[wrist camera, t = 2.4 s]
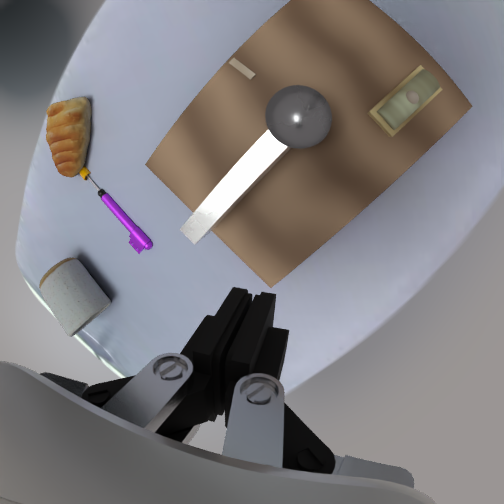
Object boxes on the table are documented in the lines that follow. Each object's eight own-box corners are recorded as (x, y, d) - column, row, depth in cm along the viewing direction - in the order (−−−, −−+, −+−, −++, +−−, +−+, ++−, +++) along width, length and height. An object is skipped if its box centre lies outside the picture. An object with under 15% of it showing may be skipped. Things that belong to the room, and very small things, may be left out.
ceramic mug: (81, 245, 33) (39, 270, 26) (119, 294, 34) (81, 326, 27) (60, 283, 38) (26, 307, 31) (92, 323, 39) (61, 352, 32)
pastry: (97, 172, 28) (73, 179, 25) (62, 177, 30) (40, 183, 27) (93, 93, 25) (69, 92, 21) (59, 106, 27) (36, 107, 23)
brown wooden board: (327, -18, 16) (326, -45, 11) (462, 107, 17) (488, 104, 13) (156, 162, 26) (126, 168, 22) (274, 278, 28) (264, 304, 23)
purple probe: (155, 242, 30) (74, 148, 28) (148, 247, 29) (66, 151, 27) (147, 254, 32) (70, 164, 30) (141, 260, 31) (63, 167, 29)
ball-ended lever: (302, 85, 19) (296, 72, 15) (341, 122, 19) (345, 117, 15) (191, 205, 24) (165, 219, 21) (224, 238, 25) (204, 258, 21)
